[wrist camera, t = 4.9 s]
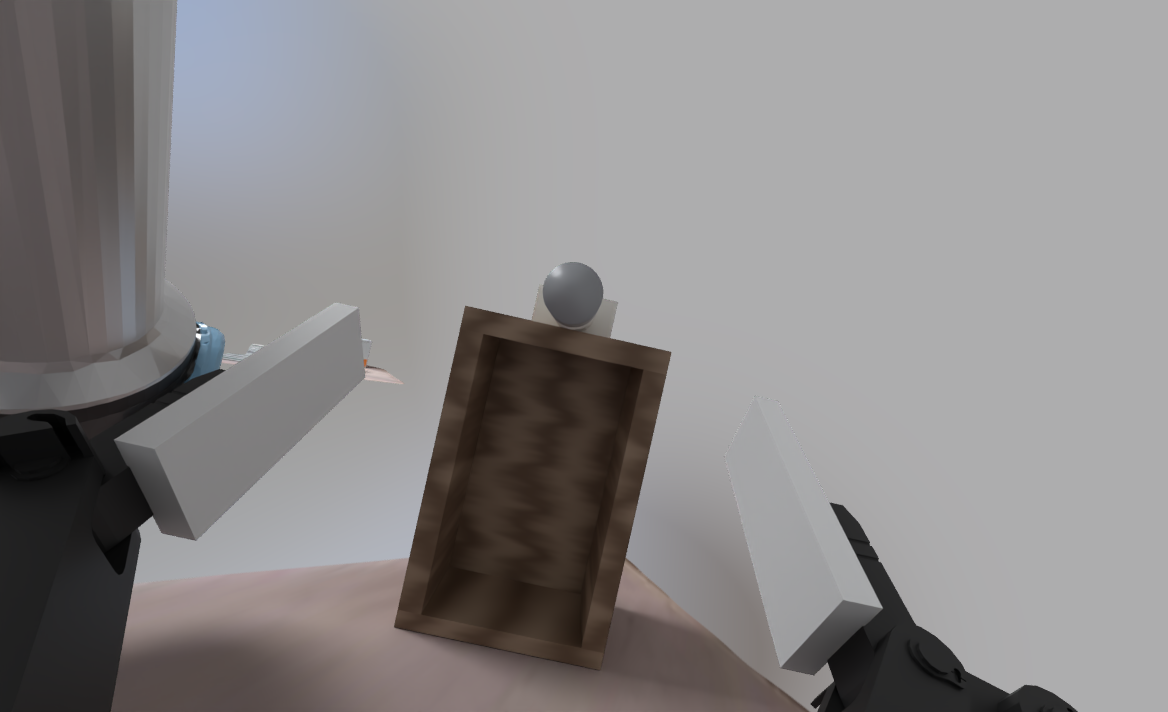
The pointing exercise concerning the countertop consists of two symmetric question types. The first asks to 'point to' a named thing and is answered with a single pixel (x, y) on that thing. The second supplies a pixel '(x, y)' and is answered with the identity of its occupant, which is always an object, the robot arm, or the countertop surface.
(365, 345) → the skincare box
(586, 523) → the open wooden box
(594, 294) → the knob
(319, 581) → the countertop surface
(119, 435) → the robot arm
